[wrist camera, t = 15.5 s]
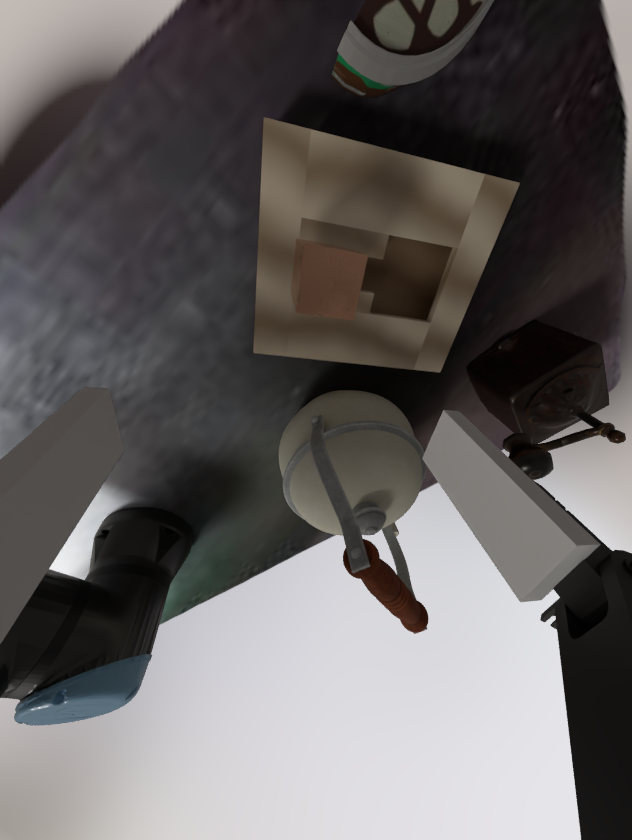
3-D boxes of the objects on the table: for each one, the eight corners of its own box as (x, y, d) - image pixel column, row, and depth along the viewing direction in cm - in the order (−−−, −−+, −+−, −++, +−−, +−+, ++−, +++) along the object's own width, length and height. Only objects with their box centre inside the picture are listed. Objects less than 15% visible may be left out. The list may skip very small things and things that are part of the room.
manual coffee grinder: (535, 312, 38) (706, 371, 23) (552, 372, 43) (699, 449, 28) (429, 384, 42) (515, 473, 27) (457, 430, 47) (542, 524, 33)
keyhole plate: (422, 356, 39) (440, 372, 35) (255, 337, 35) (253, 352, 31) (485, 188, 30) (519, 183, 25) (265, 134, 25) (263, 117, 21)
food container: (370, 158, 27) (413, 130, 19) (319, 96, 24) (343, 33, 16) (480, -6, 22) (600, -138, 14) (431, -104, 20) (544, -335, 12)
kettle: (245, 406, 40) (217, 599, 20) (365, 338, 37) (482, 484, 16) (328, 504, 54) (363, 678, 33) (421, 460, 50) (524, 624, 30)
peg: (328, 291, 32) (358, 328, 20) (281, 284, 31) (287, 319, 20) (337, 237, 29) (378, 246, 18) (286, 228, 28) (296, 231, 17)
